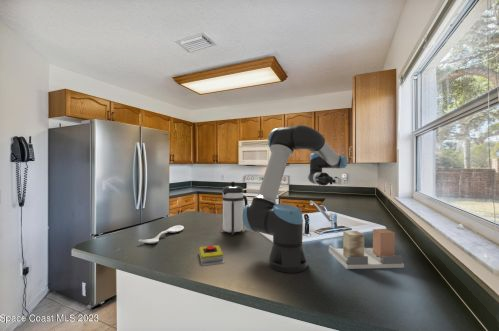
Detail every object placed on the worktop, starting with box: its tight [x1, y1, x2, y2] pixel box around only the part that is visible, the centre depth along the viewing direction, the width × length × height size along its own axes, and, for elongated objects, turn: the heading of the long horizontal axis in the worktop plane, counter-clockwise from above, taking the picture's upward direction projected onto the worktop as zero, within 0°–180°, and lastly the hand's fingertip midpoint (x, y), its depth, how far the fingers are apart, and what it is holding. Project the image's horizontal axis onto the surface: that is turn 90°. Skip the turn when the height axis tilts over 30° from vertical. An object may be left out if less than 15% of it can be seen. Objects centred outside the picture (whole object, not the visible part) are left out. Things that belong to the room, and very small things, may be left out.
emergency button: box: [198, 245, 225, 267], centre depth 98 cm, size 9×4×15 cm
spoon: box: [138, 224, 185, 244], centre depth 126 cm, size 9×32×4 cm, turn 166°
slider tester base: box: [328, 245, 405, 270], centre depth 97 cm, size 23×17×4 cm
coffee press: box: [219, 181, 249, 237], centre depth 136 cm, size 17×16×30 cm
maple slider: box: [342, 230, 365, 258], centre depth 91 cm, size 6×5×11 cm
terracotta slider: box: [372, 228, 396, 258], centre depth 94 cm, size 6×5×11 cm
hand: (339, 181), depth 111 cm, fingers closed
